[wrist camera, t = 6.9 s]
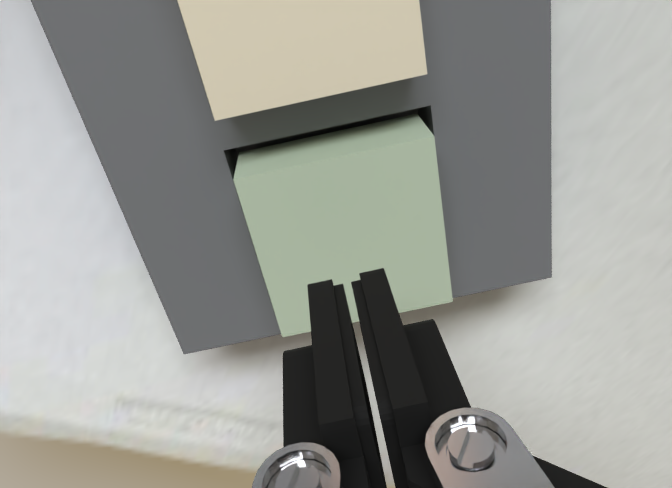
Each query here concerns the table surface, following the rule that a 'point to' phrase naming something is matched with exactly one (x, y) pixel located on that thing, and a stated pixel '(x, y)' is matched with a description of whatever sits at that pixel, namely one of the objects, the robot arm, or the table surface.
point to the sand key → (300, 49)
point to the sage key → (347, 216)
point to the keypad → (301, 122)
